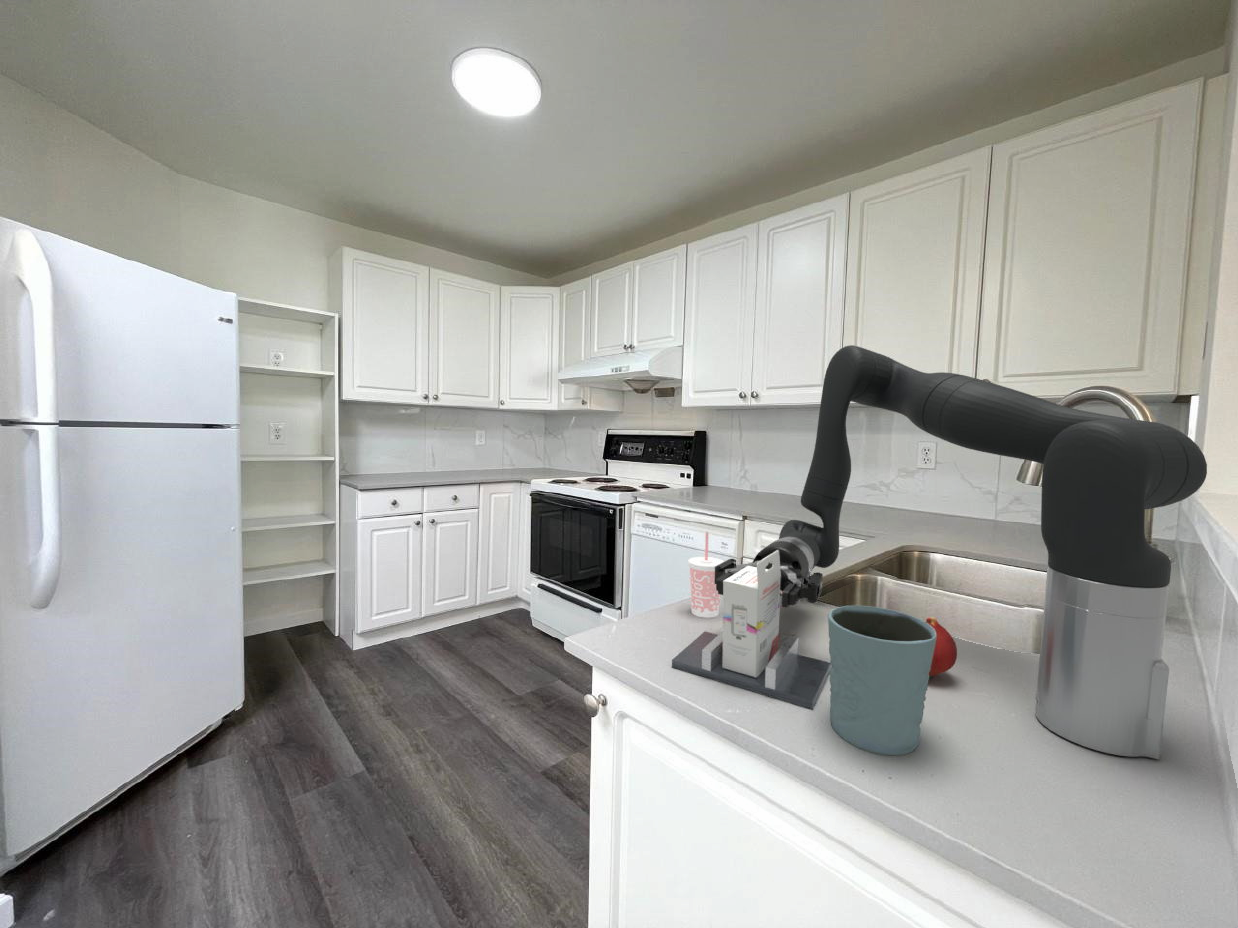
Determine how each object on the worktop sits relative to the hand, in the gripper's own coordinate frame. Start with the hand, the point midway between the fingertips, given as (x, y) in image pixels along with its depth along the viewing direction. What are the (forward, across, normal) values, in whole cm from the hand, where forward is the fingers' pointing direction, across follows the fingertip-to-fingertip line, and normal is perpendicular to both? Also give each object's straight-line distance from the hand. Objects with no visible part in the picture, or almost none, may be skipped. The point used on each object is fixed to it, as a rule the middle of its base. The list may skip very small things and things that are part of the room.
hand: (751, 593), depth 66 cm
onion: (-12, +20, +11) cm, 26 cm away
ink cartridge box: (-1, 0, +10) cm, 10 cm away
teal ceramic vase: (+5, +15, +11) cm, 19 cm away
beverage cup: (-16, -13, +11) cm, 23 cm away
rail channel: (-1, 0, +10) cm, 11 cm away
